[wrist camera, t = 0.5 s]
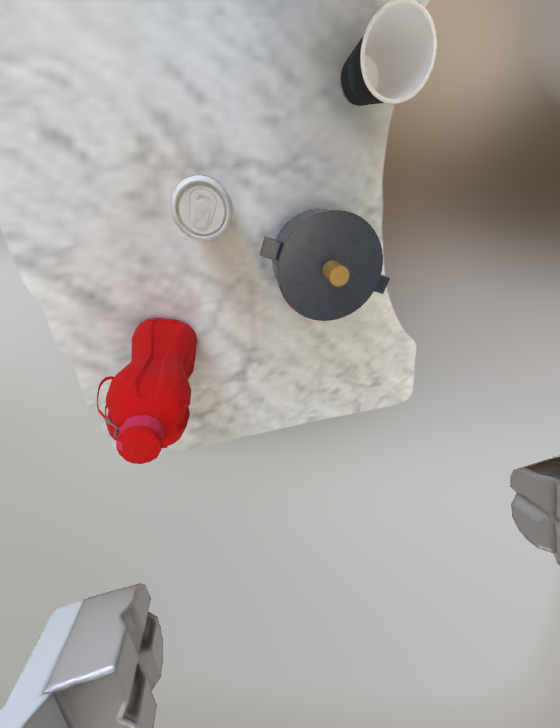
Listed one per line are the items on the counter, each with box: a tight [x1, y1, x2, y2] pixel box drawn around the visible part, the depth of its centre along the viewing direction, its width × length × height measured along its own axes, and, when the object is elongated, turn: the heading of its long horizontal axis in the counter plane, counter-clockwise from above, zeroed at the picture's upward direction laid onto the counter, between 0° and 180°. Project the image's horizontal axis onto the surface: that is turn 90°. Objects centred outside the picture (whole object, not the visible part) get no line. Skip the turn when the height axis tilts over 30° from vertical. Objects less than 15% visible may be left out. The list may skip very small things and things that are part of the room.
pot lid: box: [277, 210, 383, 321], centre depth 45 cm, size 15×15×5 cm
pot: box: [260, 209, 390, 294], centre depth 50 cm, size 14×19×8 cm
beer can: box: [171, 175, 232, 241], centre depth 40 cm, size 6×6×15 cm
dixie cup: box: [340, 0, 437, 106], centre depth 38 cm, size 8×8×11 cm
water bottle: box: [97, 318, 197, 464], centre depth 44 cm, size 9×11×25 cm
